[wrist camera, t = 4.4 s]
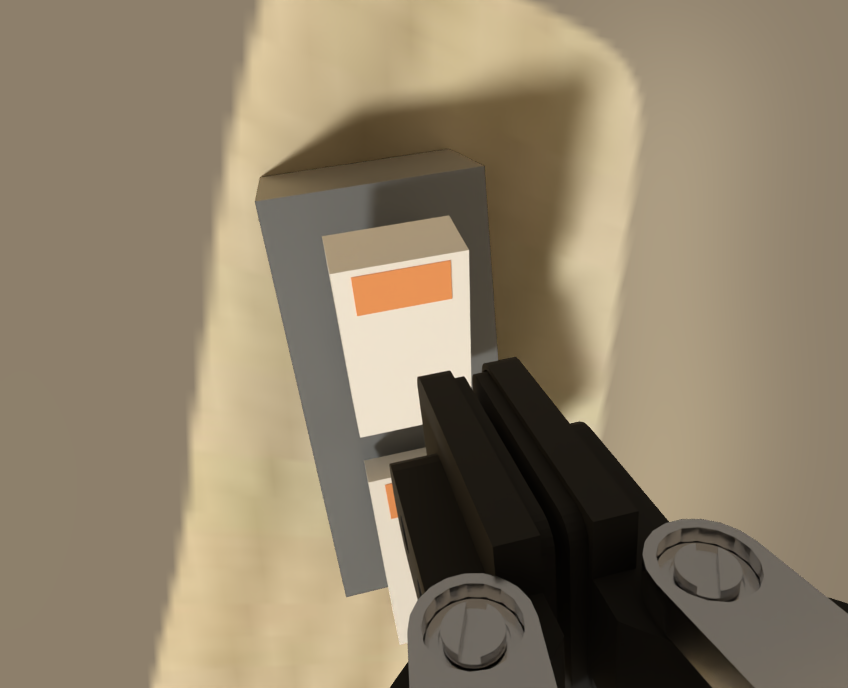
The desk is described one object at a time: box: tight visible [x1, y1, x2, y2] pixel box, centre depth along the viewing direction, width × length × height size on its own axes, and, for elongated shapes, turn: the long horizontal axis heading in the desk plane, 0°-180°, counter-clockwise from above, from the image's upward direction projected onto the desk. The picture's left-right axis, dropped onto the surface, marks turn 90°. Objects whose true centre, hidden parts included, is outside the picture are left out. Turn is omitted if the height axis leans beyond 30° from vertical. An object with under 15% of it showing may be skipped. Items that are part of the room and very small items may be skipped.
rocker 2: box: [364, 447, 427, 645], centre depth 22 cm, size 6×4×2 cm, turn 6°
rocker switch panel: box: [255, 149, 498, 597], centre depth 25 cm, size 21×7×5 cm, turn 7°
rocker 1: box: [322, 215, 471, 438], centre depth 18 cm, size 6×4×2 cm, turn 7°
